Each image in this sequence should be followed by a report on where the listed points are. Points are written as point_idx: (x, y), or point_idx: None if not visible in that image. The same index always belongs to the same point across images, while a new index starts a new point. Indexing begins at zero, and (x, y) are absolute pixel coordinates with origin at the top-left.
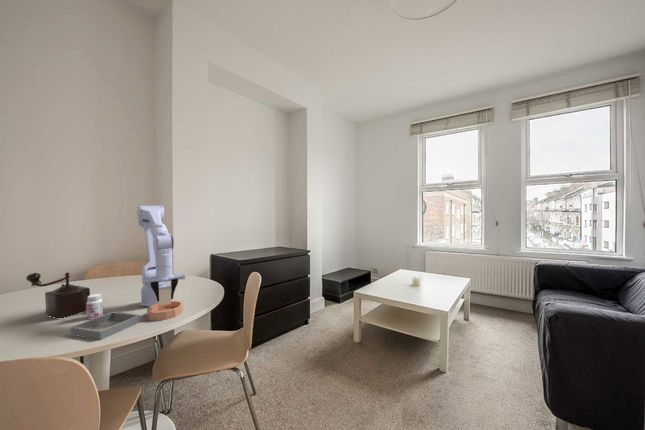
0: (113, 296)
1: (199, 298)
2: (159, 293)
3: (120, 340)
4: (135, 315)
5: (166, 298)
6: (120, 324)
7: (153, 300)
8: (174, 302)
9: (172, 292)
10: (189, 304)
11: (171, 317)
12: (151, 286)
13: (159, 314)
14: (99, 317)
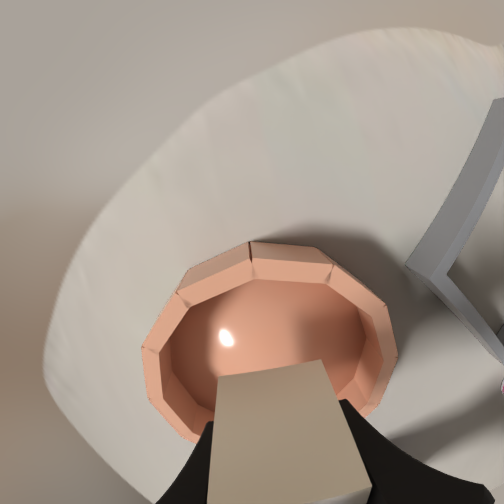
0: None
1: (139, 474)
2: (352, 454)
3: (420, 34)
4: (450, 281)
5: (262, 413)
6: (488, 166)
7: None
8: None
9: (197, 471)
10: (159, 435)
11: (209, 259)
12: (489, 494)
13: (298, 257)
14: None
